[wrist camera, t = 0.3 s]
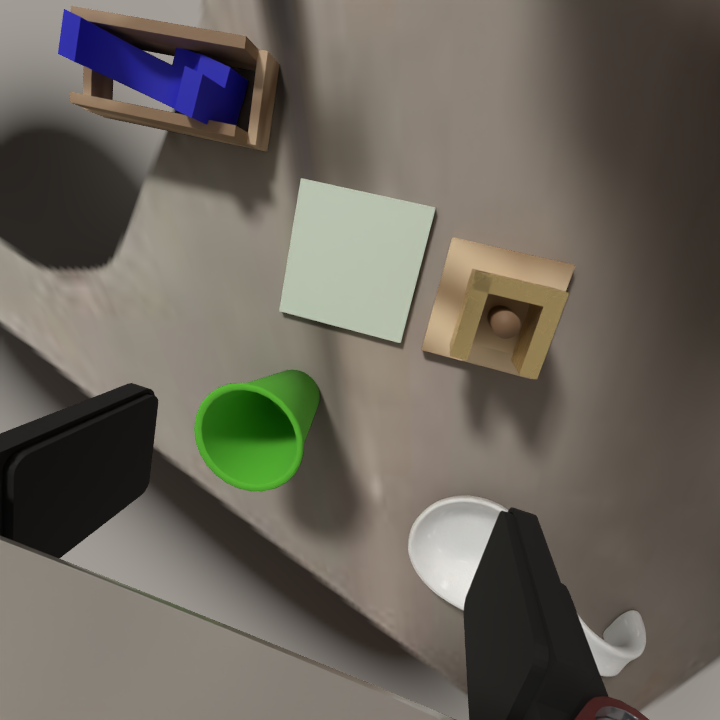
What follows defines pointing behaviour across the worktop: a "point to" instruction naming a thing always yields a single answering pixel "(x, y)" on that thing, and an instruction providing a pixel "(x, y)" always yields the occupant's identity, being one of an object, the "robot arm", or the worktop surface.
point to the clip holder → (165, 41)
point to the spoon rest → (463, 554)
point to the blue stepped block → (157, 72)
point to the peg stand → (488, 301)
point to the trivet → (354, 259)
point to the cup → (257, 429)
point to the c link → (535, 327)
